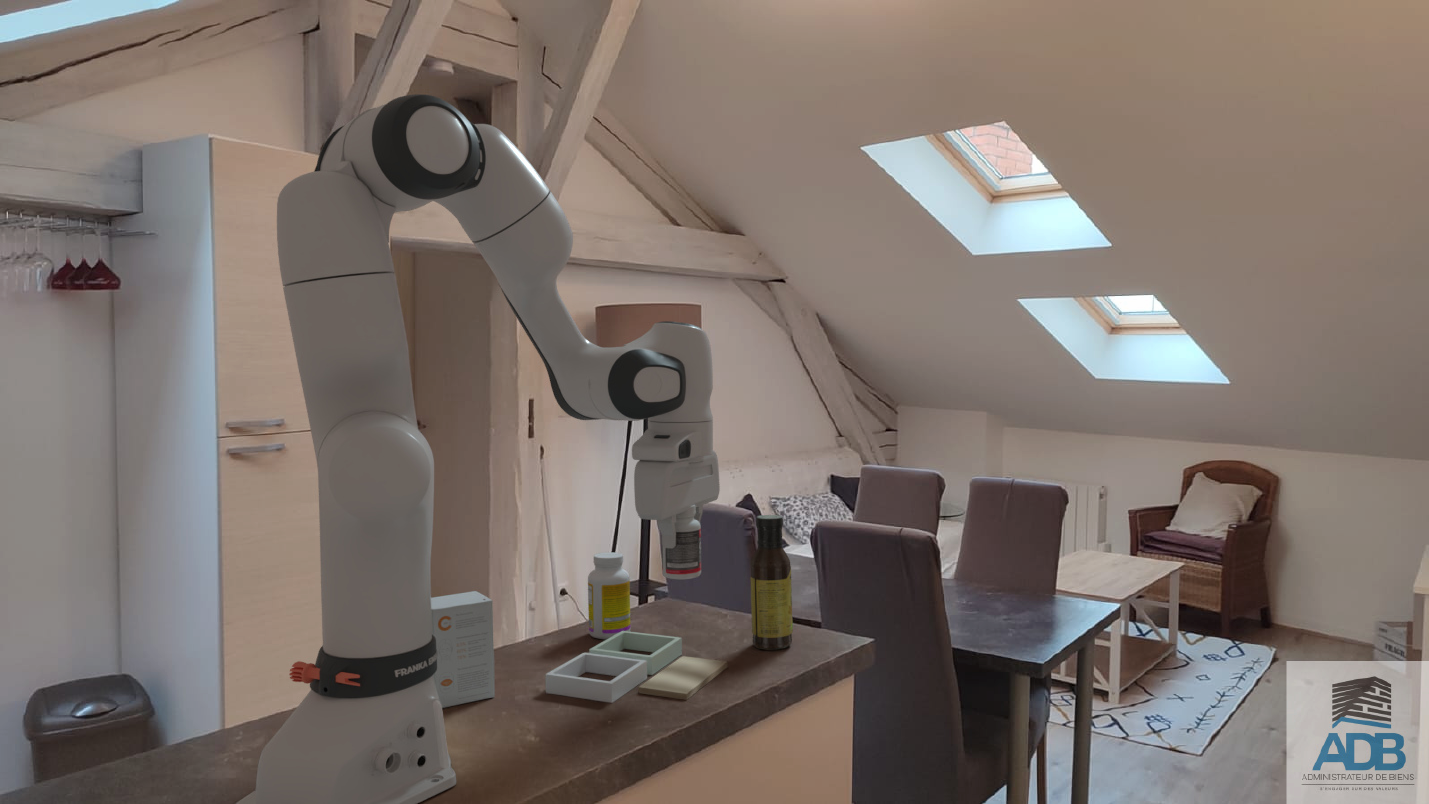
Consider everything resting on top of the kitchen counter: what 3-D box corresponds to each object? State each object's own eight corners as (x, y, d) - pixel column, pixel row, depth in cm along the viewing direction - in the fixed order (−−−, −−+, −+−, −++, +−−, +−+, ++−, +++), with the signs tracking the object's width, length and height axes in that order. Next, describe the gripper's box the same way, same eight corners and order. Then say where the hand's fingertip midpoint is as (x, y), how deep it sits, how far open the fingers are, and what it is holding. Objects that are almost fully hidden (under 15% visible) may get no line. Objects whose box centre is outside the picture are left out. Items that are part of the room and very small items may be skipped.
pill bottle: (709, 576, 132) (708, 505, 131) (675, 582, 129) (674, 509, 128) (687, 569, 136) (686, 500, 136) (654, 574, 133) (653, 504, 133)
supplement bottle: (639, 632, 156) (638, 553, 155) (613, 643, 150) (612, 561, 149) (606, 626, 159) (605, 549, 158) (580, 636, 154) (578, 556, 153)
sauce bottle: (800, 646, 147) (800, 517, 146) (768, 654, 144) (768, 521, 143) (774, 636, 153) (773, 511, 152) (742, 644, 149) (742, 515, 148)
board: (686, 699, 125) (686, 693, 125) (638, 692, 128) (638, 687, 128) (727, 667, 138) (727, 661, 138) (682, 661, 141) (682, 656, 141)
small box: (479, 684, 132) (477, 589, 131) (495, 698, 127) (493, 599, 126) (419, 696, 127) (417, 598, 127) (434, 711, 122) (431, 609, 121)
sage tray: (652, 675, 135) (651, 657, 135) (589, 666, 139) (589, 649, 139) (682, 654, 144) (681, 637, 144) (622, 646, 148) (622, 630, 148)
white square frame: (612, 702, 124) (611, 683, 124) (545, 692, 128) (545, 674, 128) (647, 678, 134) (647, 660, 133) (584, 669, 137) (583, 652, 137)
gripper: (690, 435, 142) (690, 528, 143) (625, 447, 123) (625, 555, 124) (730, 436, 140) (730, 531, 141) (670, 449, 121) (670, 558, 122)
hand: (680, 542), depth 132 cm, fingers closed on pill bottle, 5 cm apart
